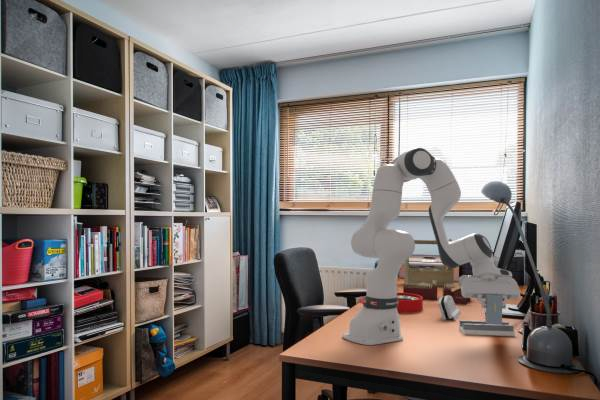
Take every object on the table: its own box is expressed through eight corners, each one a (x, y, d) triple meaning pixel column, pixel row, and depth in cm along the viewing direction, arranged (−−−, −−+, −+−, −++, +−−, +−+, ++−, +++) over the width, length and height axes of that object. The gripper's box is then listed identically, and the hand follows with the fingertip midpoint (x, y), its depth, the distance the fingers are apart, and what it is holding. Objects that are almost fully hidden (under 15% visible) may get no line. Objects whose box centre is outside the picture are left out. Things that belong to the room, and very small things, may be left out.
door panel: (487, 324, 156) (487, 295, 156) (485, 322, 158) (485, 294, 159) (502, 324, 155) (502, 296, 155) (499, 323, 158) (499, 295, 158)
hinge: (455, 321, 184) (447, 297, 186) (444, 323, 186) (436, 300, 188) (461, 313, 199) (453, 291, 201) (451, 315, 201) (443, 294, 203)
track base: (464, 334, 164) (464, 324, 164) (458, 328, 172) (458, 319, 172) (514, 336, 162) (514, 326, 162) (506, 330, 170) (506, 321, 170)
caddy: (449, 284, 285) (449, 238, 286) (454, 286, 274) (454, 238, 275) (404, 283, 286) (404, 237, 287) (407, 286, 276) (407, 238, 277)
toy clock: (374, 297, 206) (387, 291, 223) (374, 309, 206) (387, 302, 223) (416, 301, 196) (427, 295, 214) (416, 315, 196) (427, 307, 213)
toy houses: (467, 298, 238) (467, 279, 238) (473, 305, 218) (472, 285, 218) (383, 293, 249) (383, 275, 249) (381, 300, 229) (381, 281, 229)
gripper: (459, 270, 166) (465, 300, 155) (515, 272, 163) (526, 303, 153) (456, 280, 170) (462, 310, 160) (511, 282, 168) (521, 313, 157)
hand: (494, 307), depth 156 cm, fingers closed on door panel, 5 cm apart
